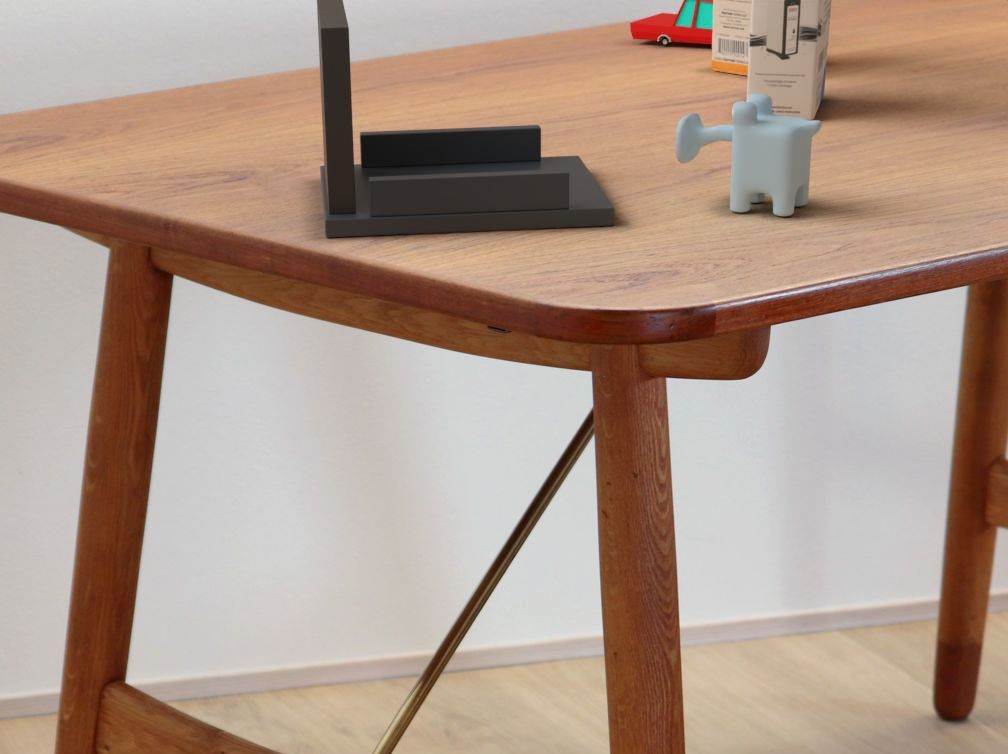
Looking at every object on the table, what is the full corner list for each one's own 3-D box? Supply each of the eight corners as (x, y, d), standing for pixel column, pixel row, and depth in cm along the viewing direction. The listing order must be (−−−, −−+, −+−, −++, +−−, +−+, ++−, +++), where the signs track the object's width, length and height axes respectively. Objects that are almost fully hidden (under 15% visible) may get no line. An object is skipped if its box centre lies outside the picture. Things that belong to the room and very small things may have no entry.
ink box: (758, 96, 140) (766, -74, 135) (827, 98, 139) (838, -74, 134) (742, 119, 133) (750, -61, 128) (815, 121, 131) (826, -60, 126)
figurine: (693, 193, 113) (697, 87, 111) (826, 204, 110) (833, 95, 107) (668, 208, 110) (672, 99, 107) (805, 220, 106) (811, 108, 104)
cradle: (614, 225, 107) (618, 20, 102) (325, 237, 106) (316, 31, 101) (578, 171, 119) (580, -14, 115) (320, 181, 119) (312, -4, 114)
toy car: (662, 33, 168) (664, -15, 167) (791, 41, 162) (794, -9, 161) (628, 44, 163) (629, -6, 162) (760, 53, 157) (763, 2, 156)
